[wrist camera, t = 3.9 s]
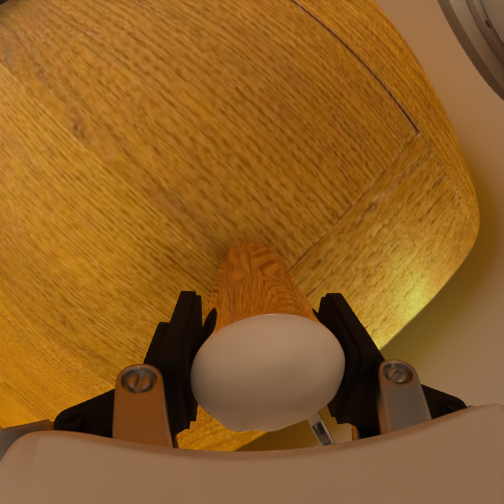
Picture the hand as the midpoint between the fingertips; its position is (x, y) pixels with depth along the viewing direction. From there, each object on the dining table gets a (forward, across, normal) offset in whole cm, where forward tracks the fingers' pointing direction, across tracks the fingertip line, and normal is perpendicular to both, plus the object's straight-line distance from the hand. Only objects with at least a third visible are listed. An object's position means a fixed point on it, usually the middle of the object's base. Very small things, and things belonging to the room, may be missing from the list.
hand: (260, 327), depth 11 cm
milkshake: (+5, 0, 0) cm, 5 cm away
